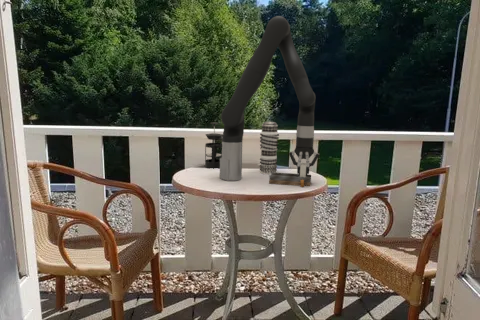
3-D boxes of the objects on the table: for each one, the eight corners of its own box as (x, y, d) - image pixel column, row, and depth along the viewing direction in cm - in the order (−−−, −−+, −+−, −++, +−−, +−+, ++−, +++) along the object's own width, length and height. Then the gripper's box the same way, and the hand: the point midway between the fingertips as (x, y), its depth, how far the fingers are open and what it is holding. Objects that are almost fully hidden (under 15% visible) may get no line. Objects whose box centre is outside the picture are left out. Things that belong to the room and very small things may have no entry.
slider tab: (296, 180, 184) (297, 164, 183) (297, 178, 189) (298, 162, 187) (308, 181, 183) (309, 165, 182) (308, 178, 188) (309, 163, 186)
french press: (202, 168, 213) (202, 123, 208) (204, 164, 222) (204, 121, 218) (225, 169, 213) (226, 123, 208) (226, 165, 222) (227, 122, 218)
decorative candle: (276, 175, 202) (279, 123, 197) (257, 174, 203) (259, 122, 198) (278, 171, 210) (280, 121, 206) (259, 170, 212) (261, 120, 207)
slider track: (268, 184, 183) (268, 176, 182) (271, 179, 193) (271, 171, 193) (310, 187, 179) (310, 179, 179) (310, 181, 190) (311, 174, 189)
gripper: (321, 135, 185) (319, 174, 188) (289, 134, 187) (287, 172, 190) (321, 137, 177) (318, 177, 181) (288, 136, 180) (286, 175, 183)
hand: (302, 174), depth 186 cm, fingers closed on slider tab, 2 cm apart
